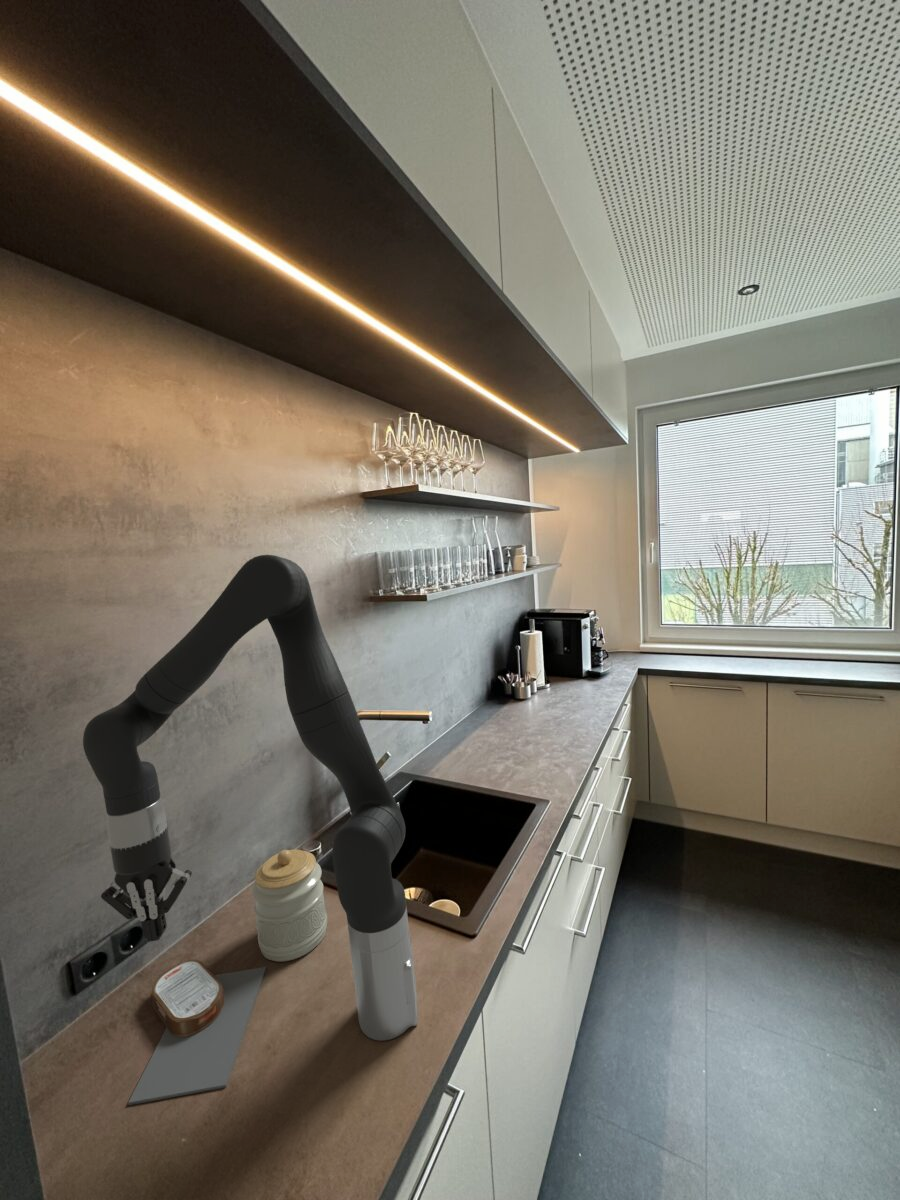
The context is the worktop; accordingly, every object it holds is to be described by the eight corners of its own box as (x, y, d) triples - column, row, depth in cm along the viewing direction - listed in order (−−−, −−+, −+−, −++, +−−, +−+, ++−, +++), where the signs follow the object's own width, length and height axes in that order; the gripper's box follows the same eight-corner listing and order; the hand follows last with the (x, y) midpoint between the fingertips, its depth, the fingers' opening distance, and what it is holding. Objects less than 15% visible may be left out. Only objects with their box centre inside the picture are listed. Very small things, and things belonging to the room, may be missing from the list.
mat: (266, 968, 87) (265, 966, 87) (225, 1087, 68) (225, 1084, 68) (191, 981, 86) (191, 978, 86) (128, 1105, 66) (128, 1102, 66)
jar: (303, 969, 87) (292, 876, 85) (244, 958, 90) (232, 868, 89) (340, 916, 99) (330, 834, 98) (286, 908, 103) (276, 829, 101)
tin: (180, 1047, 73) (234, 1009, 80) (179, 1027, 73) (233, 990, 80) (144, 998, 83) (195, 967, 90) (143, 980, 83) (194, 950, 89)
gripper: (193, 813, 79) (209, 913, 80) (108, 826, 78) (125, 927, 79) (172, 838, 71) (189, 948, 73) (77, 853, 70) (96, 964, 71)
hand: (156, 937), depth 76 cm, fingers closed
